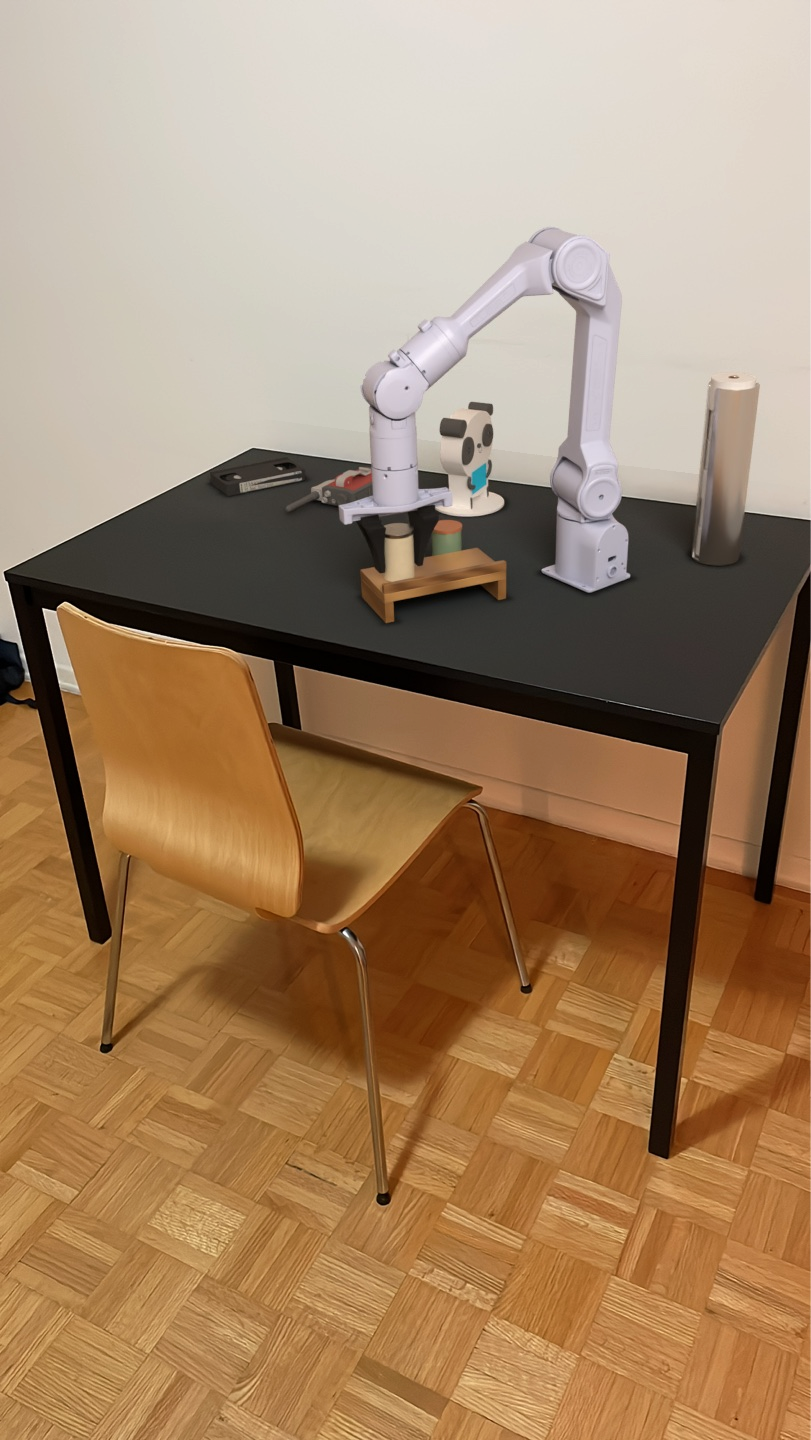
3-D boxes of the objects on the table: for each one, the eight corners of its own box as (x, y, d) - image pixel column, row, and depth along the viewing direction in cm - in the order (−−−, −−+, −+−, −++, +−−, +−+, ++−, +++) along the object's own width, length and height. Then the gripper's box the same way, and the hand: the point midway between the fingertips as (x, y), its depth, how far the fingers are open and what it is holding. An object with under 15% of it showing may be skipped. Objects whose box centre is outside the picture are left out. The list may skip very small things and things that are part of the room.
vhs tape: (227, 496, 189) (226, 484, 188) (211, 483, 195) (209, 472, 194) (305, 480, 194) (304, 468, 193) (287, 468, 200) (286, 457, 199)
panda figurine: (483, 521, 174) (483, 424, 166) (418, 511, 179) (415, 416, 171) (515, 497, 183) (516, 404, 175) (452, 488, 188) (451, 397, 180)
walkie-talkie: (354, 479, 194) (282, 516, 179) (352, 454, 191) (279, 489, 177) (397, 487, 189) (327, 525, 175) (396, 461, 187) (324, 498, 173)
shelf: (477, 574, 157) (477, 538, 154) (506, 598, 149) (506, 561, 147) (361, 597, 152) (359, 560, 149) (385, 623, 144) (383, 585, 142)
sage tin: (469, 569, 158) (468, 525, 155) (444, 578, 156) (443, 533, 153) (449, 561, 161) (448, 517, 158) (425, 568, 159) (424, 525, 156)
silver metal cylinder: (740, 567, 155) (762, 382, 143) (691, 565, 157) (709, 381, 144) (737, 549, 161) (759, 370, 148) (690, 547, 162) (708, 369, 149)
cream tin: (422, 577, 147) (420, 529, 143) (395, 586, 144) (393, 537, 141) (402, 567, 150) (400, 520, 146) (375, 575, 147) (373, 528, 144)
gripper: (436, 446, 145) (438, 546, 152) (328, 463, 140) (335, 565, 147) (458, 461, 139) (459, 565, 146) (346, 480, 135) (353, 585, 142)
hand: (398, 566), depth 146 cm, fingers open, 5 cm apart
